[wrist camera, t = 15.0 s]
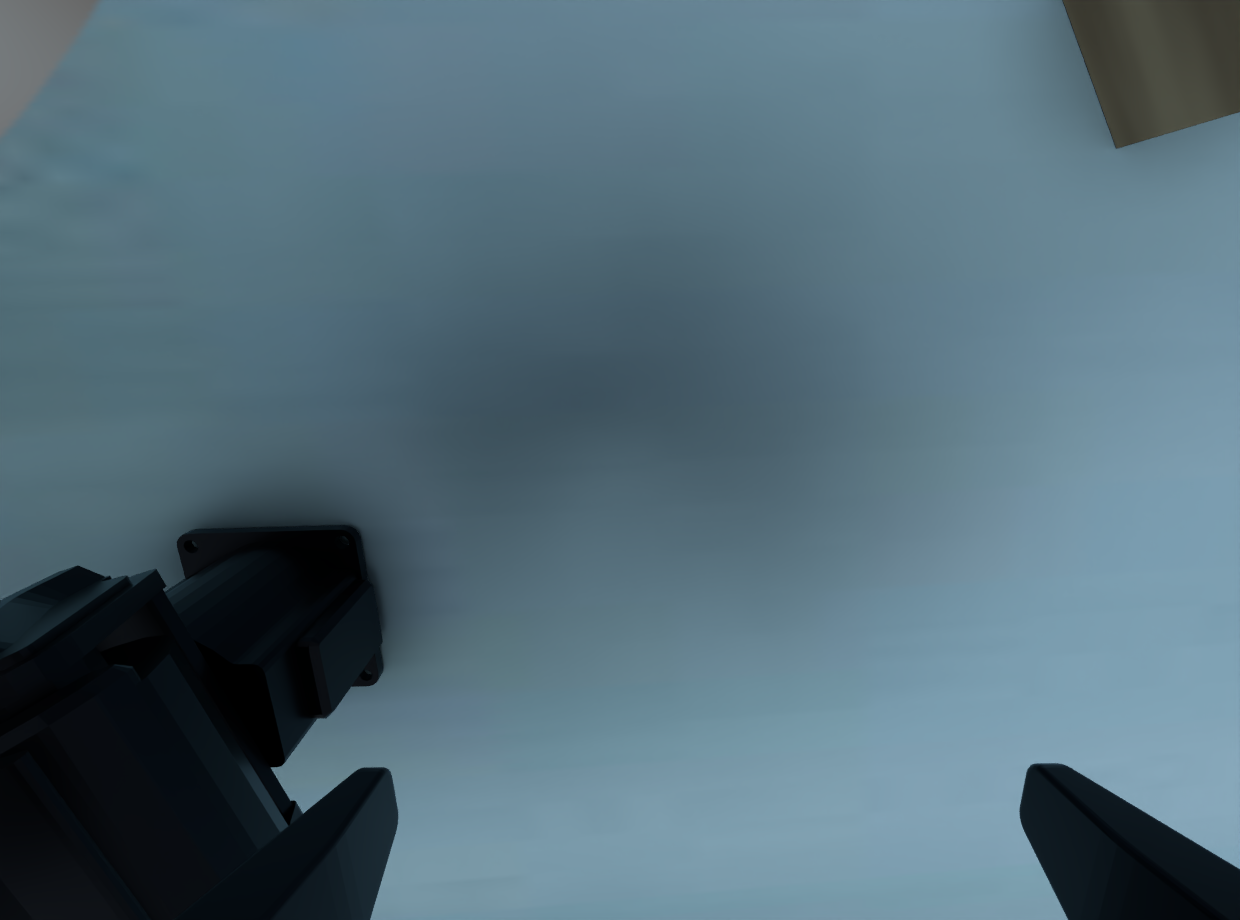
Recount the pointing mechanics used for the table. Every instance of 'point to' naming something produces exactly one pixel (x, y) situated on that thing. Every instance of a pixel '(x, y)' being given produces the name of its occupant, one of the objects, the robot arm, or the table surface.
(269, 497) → the table surface
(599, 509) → the table surface
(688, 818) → the table surface
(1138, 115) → the block
